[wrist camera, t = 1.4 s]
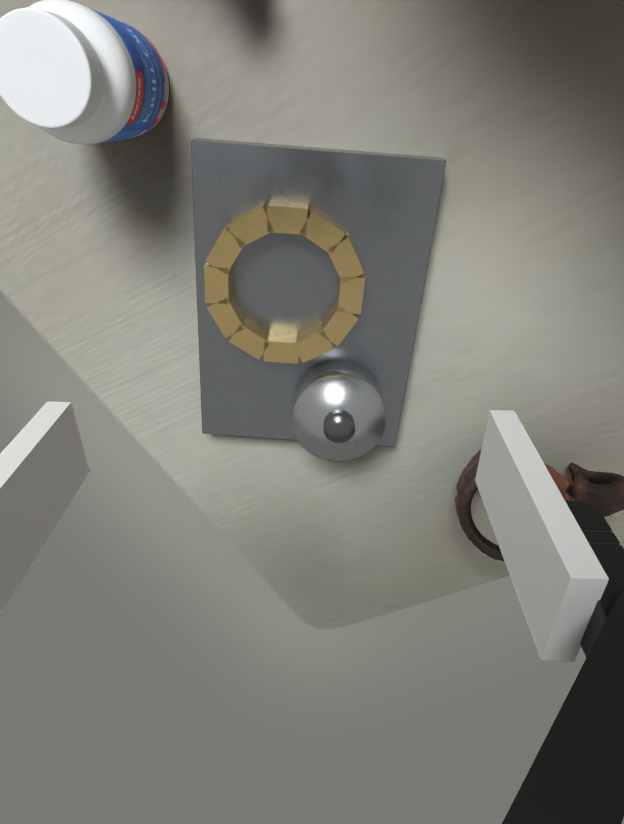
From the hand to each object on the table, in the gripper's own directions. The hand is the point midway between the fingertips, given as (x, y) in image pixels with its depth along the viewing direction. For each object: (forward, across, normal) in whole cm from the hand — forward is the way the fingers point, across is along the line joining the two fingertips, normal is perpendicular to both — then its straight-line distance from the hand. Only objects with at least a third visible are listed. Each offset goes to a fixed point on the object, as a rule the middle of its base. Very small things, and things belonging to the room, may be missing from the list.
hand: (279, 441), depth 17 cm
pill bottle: (+20, -10, +10) cm, 24 cm away
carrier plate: (+20, 0, -3) cm, 20 cm away
